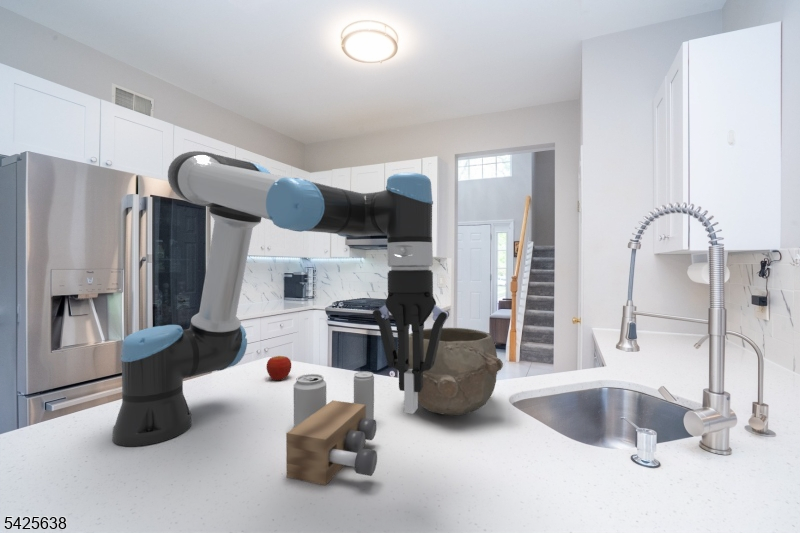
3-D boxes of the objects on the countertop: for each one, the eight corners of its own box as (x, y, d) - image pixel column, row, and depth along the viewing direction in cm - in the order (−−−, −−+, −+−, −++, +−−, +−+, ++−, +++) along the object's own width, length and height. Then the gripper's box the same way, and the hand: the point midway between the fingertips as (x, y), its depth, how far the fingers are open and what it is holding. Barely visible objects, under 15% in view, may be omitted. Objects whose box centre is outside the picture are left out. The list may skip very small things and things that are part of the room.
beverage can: (363, 418, 95) (363, 370, 94) (378, 423, 91) (378, 373, 91) (349, 424, 91) (349, 374, 91) (363, 430, 88) (363, 378, 88)
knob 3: (321, 435, 81) (321, 417, 81) (331, 428, 84) (331, 410, 84) (368, 443, 77) (368, 424, 77) (376, 435, 81) (376, 416, 81)
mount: (286, 477, 69) (286, 432, 69) (332, 436, 85) (332, 400, 85) (325, 485, 66) (325, 439, 66) (365, 441, 82) (365, 404, 82)
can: (318, 436, 85) (318, 383, 84) (287, 433, 86) (287, 380, 86) (331, 422, 92) (331, 373, 92) (302, 420, 93) (302, 371, 93)
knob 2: (312, 469, 68) (312, 447, 68) (323, 458, 71) (323, 437, 71) (368, 480, 64) (368, 457, 64) (377, 468, 68) (377, 446, 68)
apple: (296, 377, 127) (296, 354, 127) (277, 384, 121) (277, 359, 121) (280, 374, 132) (280, 351, 131) (261, 380, 125) (261, 356, 125)
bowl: (379, 399, 108) (379, 328, 107) (465, 386, 119) (465, 322, 119) (422, 440, 83) (422, 348, 82) (526, 419, 94) (526, 338, 94)
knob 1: (306, 449, 75) (306, 428, 75) (317, 440, 79) (317, 420, 79) (356, 458, 71) (356, 437, 71) (365, 448, 75) (365, 428, 75)
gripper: (364, 269, 62) (366, 414, 62) (443, 269, 58) (444, 424, 58) (381, 268, 69) (383, 398, 69) (453, 268, 65) (454, 406, 65)
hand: (411, 410), depth 64 cm, fingers closed
